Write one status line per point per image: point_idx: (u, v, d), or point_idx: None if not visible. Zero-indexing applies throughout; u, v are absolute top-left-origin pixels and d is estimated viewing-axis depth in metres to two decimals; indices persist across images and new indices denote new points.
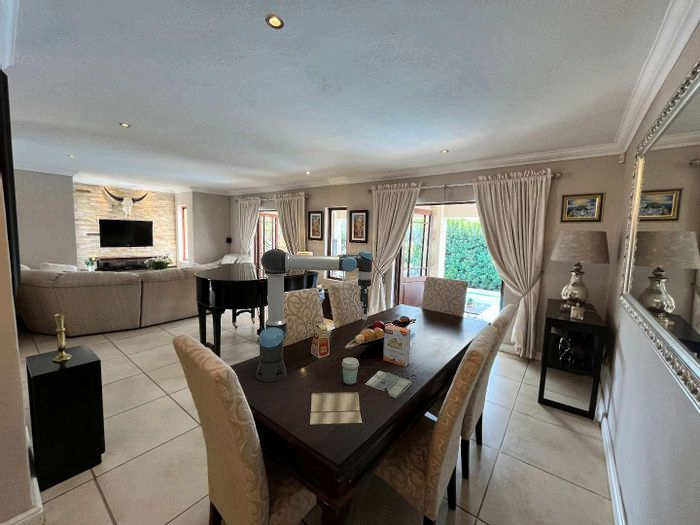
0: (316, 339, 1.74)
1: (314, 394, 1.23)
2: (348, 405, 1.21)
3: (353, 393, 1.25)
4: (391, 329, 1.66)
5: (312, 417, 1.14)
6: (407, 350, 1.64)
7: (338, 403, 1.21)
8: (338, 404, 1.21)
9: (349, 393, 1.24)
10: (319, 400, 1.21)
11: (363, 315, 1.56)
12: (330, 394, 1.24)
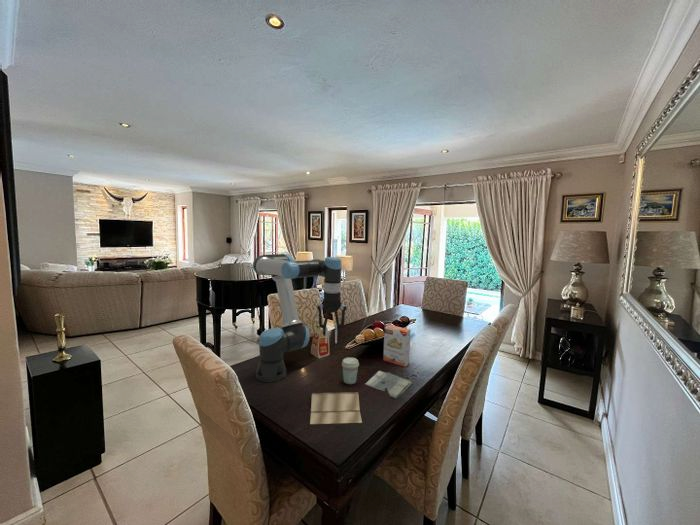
0: (316, 339, 1.74)
1: (314, 394, 1.23)
2: (348, 405, 1.21)
3: (353, 393, 1.25)
4: (391, 329, 1.66)
5: (312, 417, 1.14)
6: (407, 350, 1.64)
7: (338, 403, 1.21)
8: (338, 404, 1.21)
9: (349, 393, 1.24)
10: (319, 400, 1.21)
11: (325, 336, 1.32)
12: (330, 394, 1.24)
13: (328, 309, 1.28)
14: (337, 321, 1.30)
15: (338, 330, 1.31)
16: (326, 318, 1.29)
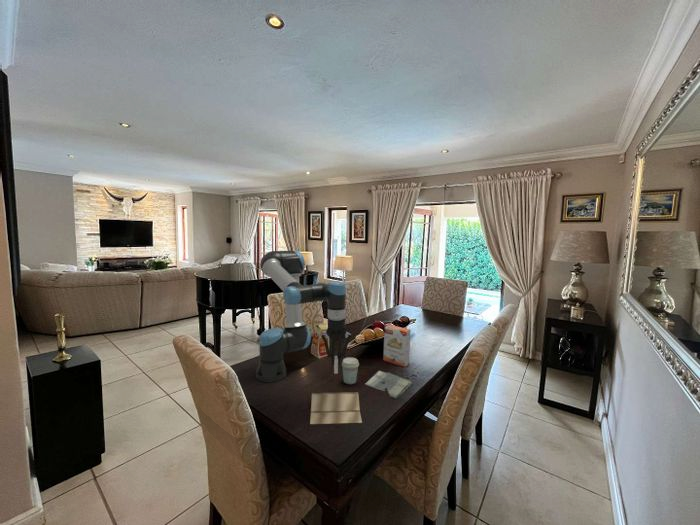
0: (316, 339, 1.74)
1: (314, 394, 1.23)
2: (348, 405, 1.21)
3: (353, 393, 1.25)
4: (391, 329, 1.66)
5: (312, 417, 1.14)
6: (407, 350, 1.64)
7: (338, 403, 1.21)
8: (338, 404, 1.21)
9: (349, 393, 1.24)
10: (319, 400, 1.21)
11: None
12: (330, 394, 1.24)
13: (333, 337, 1.21)
14: (339, 349, 1.22)
15: (339, 359, 1.23)
16: (333, 347, 1.22)
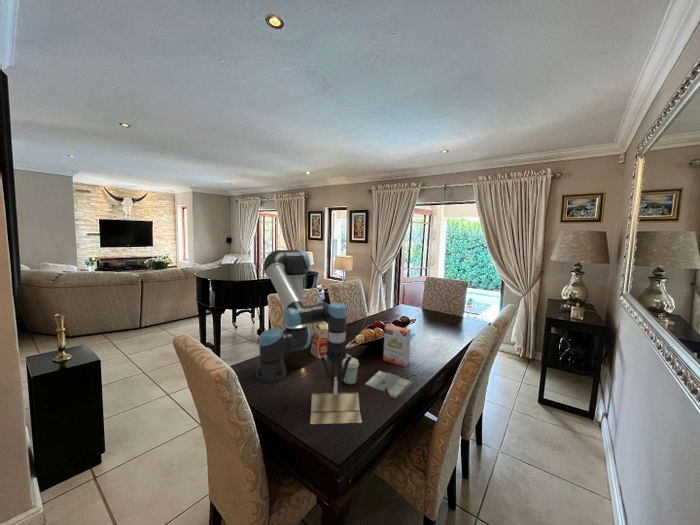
0: (316, 339, 1.74)
1: (314, 394, 1.23)
2: (348, 405, 1.21)
3: (353, 393, 1.25)
4: (391, 329, 1.66)
5: (312, 417, 1.14)
6: (407, 350, 1.64)
7: (338, 403, 1.21)
8: (338, 404, 1.21)
9: (349, 393, 1.25)
10: (319, 400, 1.21)
11: None
12: (330, 394, 1.24)
13: (333, 359, 1.20)
14: (339, 371, 1.22)
15: (338, 381, 1.23)
16: (333, 369, 1.21)
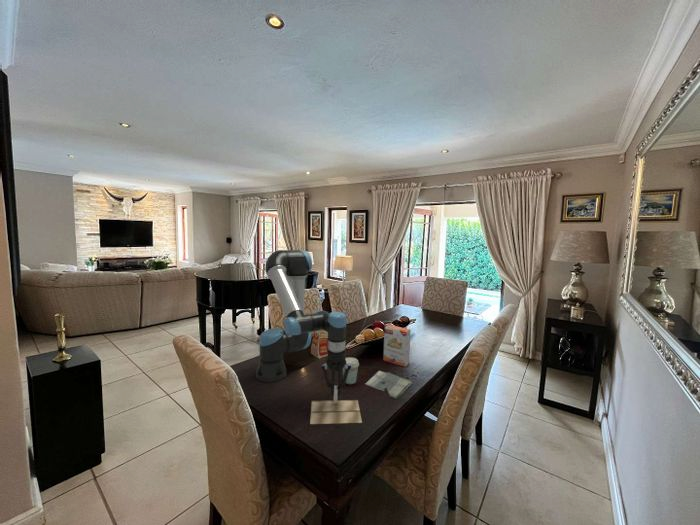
0: (316, 339, 1.74)
1: (314, 401, 1.25)
2: (348, 407, 1.21)
3: (352, 400, 1.26)
4: (391, 329, 1.66)
5: (312, 417, 1.14)
6: (407, 350, 1.64)
7: (338, 406, 1.21)
8: (338, 407, 1.21)
9: (348, 400, 1.26)
10: (319, 405, 1.22)
11: None
12: (330, 401, 1.25)
13: (333, 368, 1.21)
14: (339, 380, 1.22)
15: (338, 390, 1.23)
16: (333, 377, 1.22)
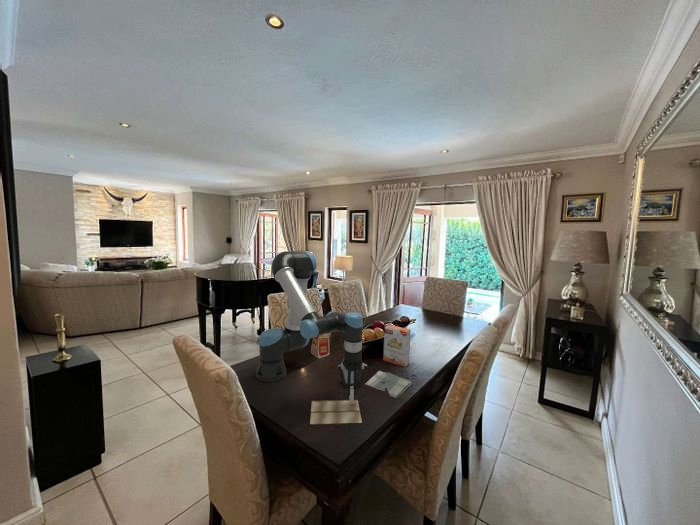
0: (316, 339, 1.74)
1: (314, 401, 1.25)
2: (348, 407, 1.21)
3: None
4: (391, 329, 1.66)
5: (312, 417, 1.14)
6: (407, 350, 1.64)
7: (338, 406, 1.21)
8: (338, 407, 1.21)
9: (348, 400, 1.26)
10: (319, 405, 1.22)
11: (349, 396, 1.25)
12: (330, 401, 1.25)
13: (349, 369, 1.21)
14: (355, 380, 1.23)
15: (355, 390, 1.23)
16: (349, 378, 1.22)
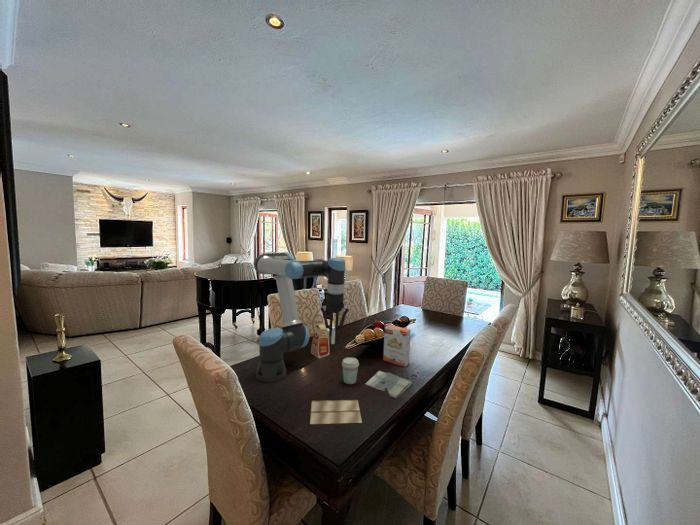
0: (316, 339, 1.74)
1: (314, 401, 1.25)
2: (348, 407, 1.21)
3: (352, 400, 1.26)
4: (391, 329, 1.66)
5: (312, 417, 1.14)
6: (407, 350, 1.64)
7: (338, 406, 1.21)
8: (338, 407, 1.21)
9: (348, 400, 1.26)
10: (319, 404, 1.22)
11: (331, 337, 1.33)
12: (330, 401, 1.25)
13: (331, 310, 1.28)
14: (337, 322, 1.30)
15: (336, 331, 1.31)
16: (331, 319, 1.29)
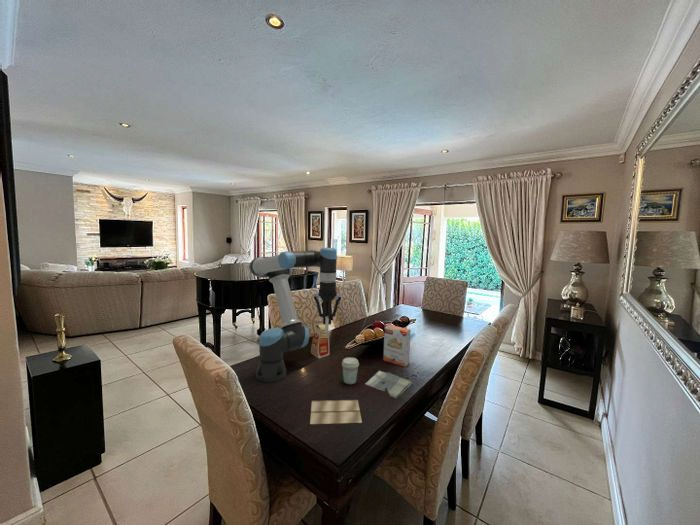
0: (316, 339, 1.74)
1: (314, 401, 1.25)
2: (348, 407, 1.21)
3: (352, 400, 1.26)
4: (391, 329, 1.66)
5: (312, 417, 1.14)
6: (407, 350, 1.64)
7: (338, 406, 1.21)
8: (338, 407, 1.21)
9: (348, 400, 1.26)
10: (319, 404, 1.22)
11: None
12: (330, 401, 1.25)
13: (324, 298, 1.32)
14: (330, 310, 1.33)
15: (330, 319, 1.34)
16: (324, 307, 1.33)
